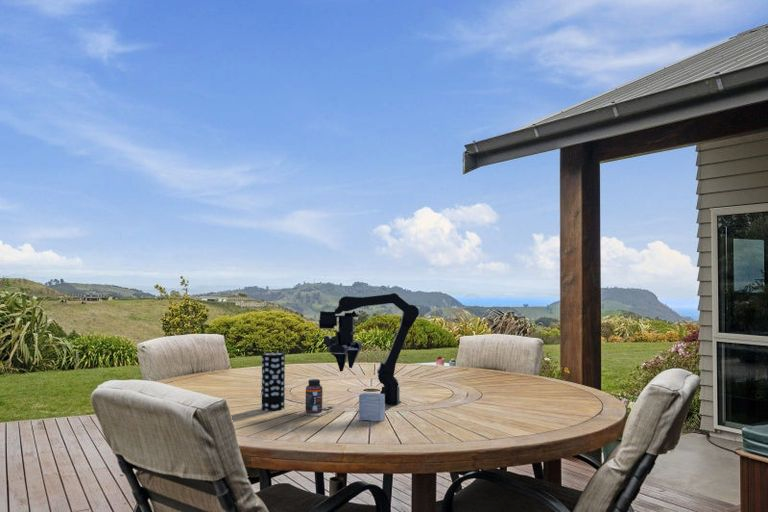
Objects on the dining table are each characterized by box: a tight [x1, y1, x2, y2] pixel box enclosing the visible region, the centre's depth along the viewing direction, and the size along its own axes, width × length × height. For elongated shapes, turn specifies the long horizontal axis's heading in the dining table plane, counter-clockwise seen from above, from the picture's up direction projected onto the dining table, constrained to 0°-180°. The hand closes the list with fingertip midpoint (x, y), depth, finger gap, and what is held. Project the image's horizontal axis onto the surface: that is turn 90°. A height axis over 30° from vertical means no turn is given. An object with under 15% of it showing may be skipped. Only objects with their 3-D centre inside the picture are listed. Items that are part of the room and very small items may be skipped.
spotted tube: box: [261, 352, 286, 412], centre depth 225 cm, size 8×8×20 cm
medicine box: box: [358, 392, 386, 422], centre depth 206 cm, size 8×4×9 cm, turn 71°
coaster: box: [298, 409, 330, 417], centre depth 216 cm, size 8×8×1 cm
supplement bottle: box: [305, 378, 323, 413], centre depth 217 cm, size 6×6×11 cm
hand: (346, 369), depth 234 cm, fingers open, 9 cm apart
